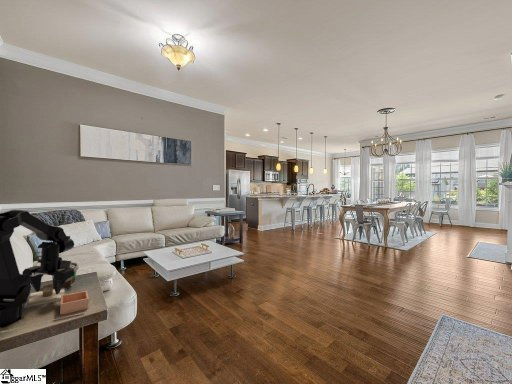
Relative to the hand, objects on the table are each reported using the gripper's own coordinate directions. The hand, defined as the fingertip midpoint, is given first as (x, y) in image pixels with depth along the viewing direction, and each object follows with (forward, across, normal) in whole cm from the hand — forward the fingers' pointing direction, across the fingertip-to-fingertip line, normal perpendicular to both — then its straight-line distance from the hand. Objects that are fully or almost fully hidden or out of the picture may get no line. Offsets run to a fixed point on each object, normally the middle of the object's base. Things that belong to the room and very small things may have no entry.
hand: (47, 292), depth 97 cm
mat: (+3, 0, 0) cm, 3 cm away
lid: (+2, 0, 0) cm, 2 cm away
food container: (+3, +5, -14) cm, 15 cm away
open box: (+3, -16, +4) cm, 17 cm away
